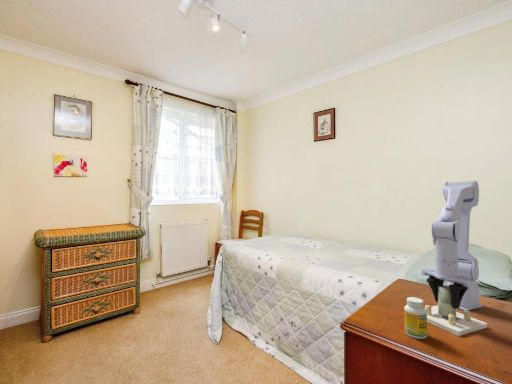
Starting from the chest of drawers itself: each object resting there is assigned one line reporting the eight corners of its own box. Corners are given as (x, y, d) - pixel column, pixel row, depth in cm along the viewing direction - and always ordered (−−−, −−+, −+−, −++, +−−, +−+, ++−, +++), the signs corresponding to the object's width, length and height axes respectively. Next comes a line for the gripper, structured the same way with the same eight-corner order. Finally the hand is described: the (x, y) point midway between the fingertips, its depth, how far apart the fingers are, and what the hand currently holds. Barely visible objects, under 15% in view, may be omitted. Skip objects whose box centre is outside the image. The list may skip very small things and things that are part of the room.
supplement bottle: (410, 327, 76) (410, 294, 76) (430, 335, 72) (430, 300, 72) (400, 333, 73) (400, 298, 73) (421, 341, 69) (420, 305, 69)
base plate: (438, 308, 89) (438, 297, 89) (487, 327, 76) (487, 314, 76) (411, 314, 84) (411, 303, 84) (458, 336, 71) (458, 322, 71)
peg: (444, 309, 83) (444, 284, 83) (459, 315, 79) (458, 289, 79) (435, 312, 81) (434, 286, 82) (449, 318, 77) (449, 290, 78)
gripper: (415, 256, 86) (415, 298, 86) (463, 267, 72) (465, 316, 72) (429, 254, 88) (430, 295, 88) (479, 264, 75) (480, 312, 75)
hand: (447, 304), depth 80 cm, fingers open, 4 cm apart
